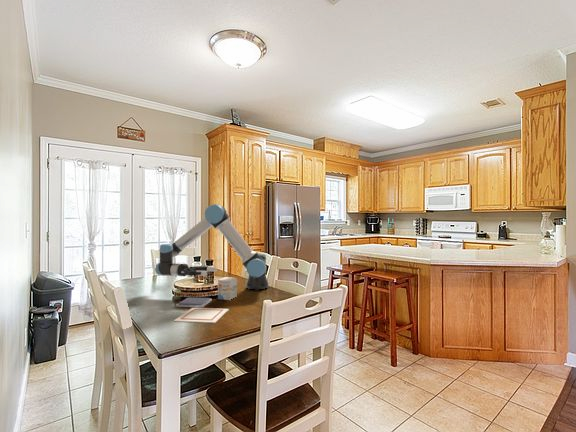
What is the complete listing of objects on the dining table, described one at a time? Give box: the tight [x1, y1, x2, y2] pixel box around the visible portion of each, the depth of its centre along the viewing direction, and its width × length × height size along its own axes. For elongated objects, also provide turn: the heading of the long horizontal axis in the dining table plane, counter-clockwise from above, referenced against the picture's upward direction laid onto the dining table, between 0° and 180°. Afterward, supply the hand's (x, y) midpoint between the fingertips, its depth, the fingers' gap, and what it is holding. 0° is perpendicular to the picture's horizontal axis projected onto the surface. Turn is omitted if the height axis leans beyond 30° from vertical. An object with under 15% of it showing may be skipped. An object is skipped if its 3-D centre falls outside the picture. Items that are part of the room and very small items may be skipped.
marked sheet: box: [173, 307, 230, 324], centre depth 150 cm, size 20×20×1 cm
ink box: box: [217, 276, 238, 301], centre depth 182 cm, size 9×8×12 cm
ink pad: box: [175, 296, 213, 308], centre depth 170 cm, size 15×14×2 cm
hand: (211, 271), depth 184 cm, fingers open, 13 cm apart
